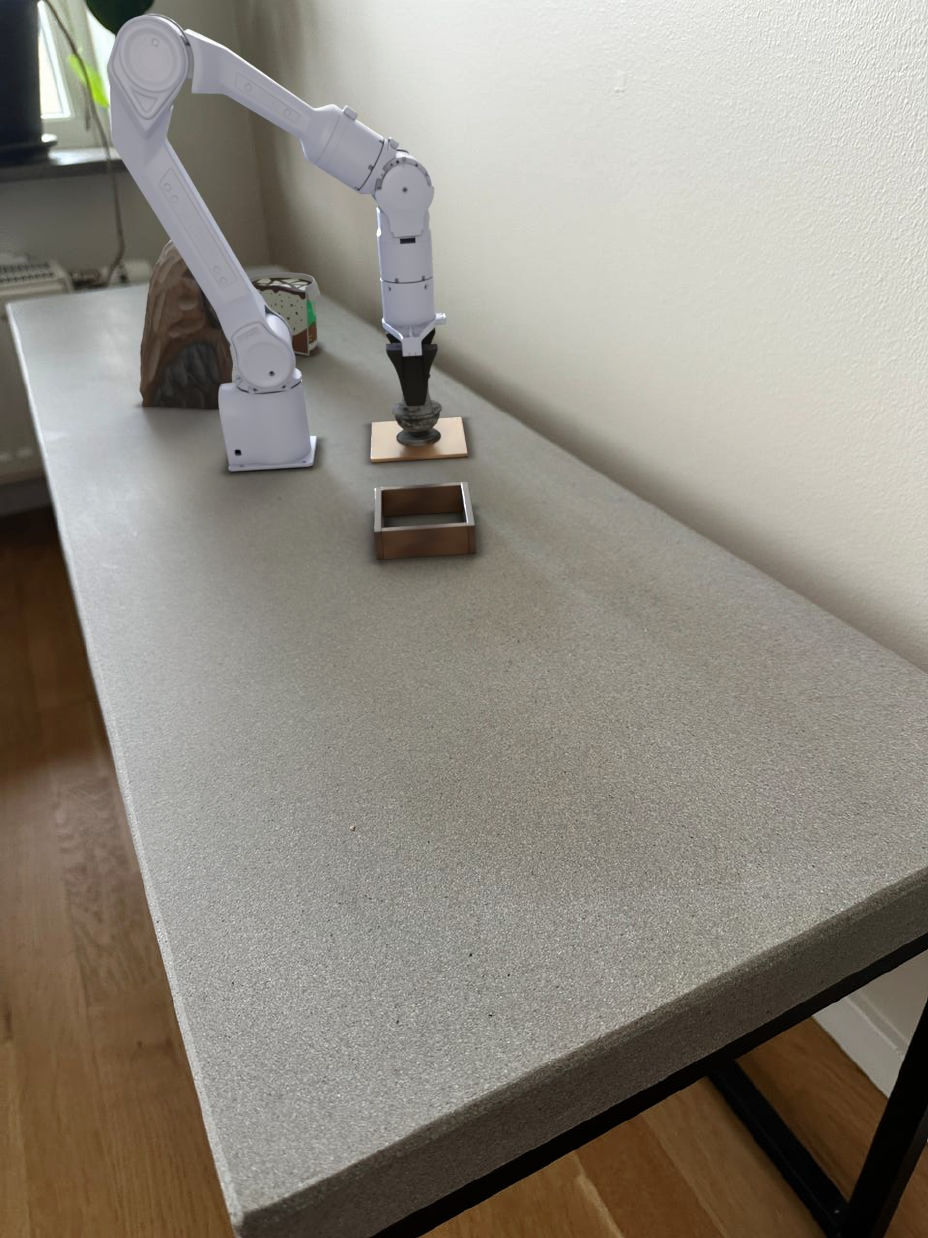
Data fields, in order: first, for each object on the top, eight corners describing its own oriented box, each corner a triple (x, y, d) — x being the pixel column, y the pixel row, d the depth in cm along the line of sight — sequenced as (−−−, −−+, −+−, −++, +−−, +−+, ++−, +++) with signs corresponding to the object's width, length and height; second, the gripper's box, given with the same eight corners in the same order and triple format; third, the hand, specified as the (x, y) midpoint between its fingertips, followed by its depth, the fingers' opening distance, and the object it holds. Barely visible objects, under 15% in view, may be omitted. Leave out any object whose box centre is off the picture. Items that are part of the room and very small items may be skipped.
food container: (343, 344, 145) (336, 276, 139) (317, 357, 140) (308, 287, 135) (281, 334, 150) (272, 268, 145) (254, 345, 146) (243, 277, 141)
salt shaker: (437, 448, 110) (431, 344, 104) (388, 445, 112) (379, 343, 105) (448, 428, 115) (443, 328, 109) (400, 426, 116) (393, 327, 110)
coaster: (371, 462, 109) (370, 459, 109) (372, 425, 118) (371, 422, 118) (467, 456, 109) (467, 453, 109) (461, 419, 118) (461, 416, 118)
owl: (197, 374, 136) (168, 224, 125) (271, 384, 131) (248, 230, 120) (137, 405, 127) (100, 246, 116) (215, 417, 122) (183, 253, 111)
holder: (376, 560, 90) (373, 531, 89) (377, 514, 98) (374, 487, 97) (476, 553, 91) (475, 525, 89) (468, 508, 99) (467, 481, 97)
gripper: (447, 292, 97) (453, 419, 105) (440, 258, 109) (446, 374, 117) (378, 296, 97) (389, 423, 105) (378, 261, 109) (388, 377, 117)
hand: (415, 397), depth 111 cm, fingers open, 4 cm apart
